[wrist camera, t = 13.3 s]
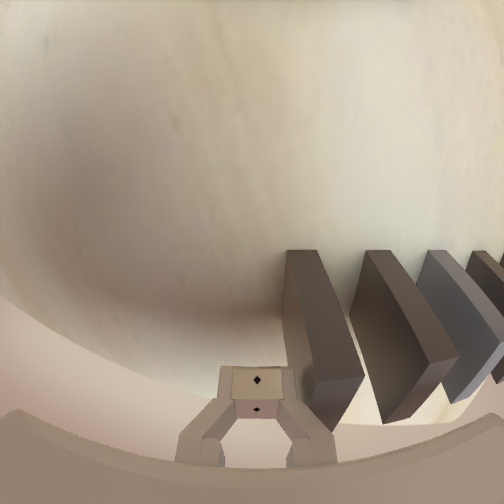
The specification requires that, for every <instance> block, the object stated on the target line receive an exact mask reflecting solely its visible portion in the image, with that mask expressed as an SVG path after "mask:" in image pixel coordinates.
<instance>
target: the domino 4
mask: <svg viewBox="0 0 504 504" xmlns="http://www.w3.org/2000/svg"><path fill="white" fill-rule="evenodd" d="M465 271H466V272H467V274H468V275H469V276H470V277H471V278H472V279H473V280H474V281H475V283H476V284H477V285H478V286H479V287H480V288H481V290H482V291H483V292H484V293H485V294H486V296H487V297H488V298H489V299H490V301H491V302H492V303H493V304H494V306H495V307H496V308H497V310H498V311H499V312H500V313H501V315H502V316H503V317H504V268H503V267H502V266H501V265H500V264H499V263H498V262H496V261H495V260H494V259H493V258H492V257H491V256H490V255H489V254H488V253H487V252H486V251H473V252H472V255H471V257H470V260H469V263H468V265H467V268H466V270H465ZM490 373H491V375H492V377H493V379H494V381H495V382H496V384H498V383H500V382H502V381H504V356H503V357H502V358H501V360H500V361H499V362H498V364H497V365H496V366H495V367H494V369H493V370H492V371H491V372H490Z"/></svg>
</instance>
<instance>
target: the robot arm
mask: <svg viewBox="0 0 504 504" xmlns="http://www.w3.org/2000/svg"><path fill="white" fill-rule="evenodd" d="M237 418H260V419H261V418H262V419H276V420H277V421H278V423H279V424H280V426H281V427H282V428H283V430H284V431H285V433H286V434H287V435H288V437H289V438H290V440H291V441H292V442H293V444H292V446H291V448H290V451H289V453H288V455H287V458H286V465H287V468H267V469H253V468H252V469H250V468H227V467H225V456H224V452H223V449H222V446H221V443H220V441H221V439H222V438H223V437H224V436H225V434H226V433H227V432H228V430H229V429H230V428H231V426H232V425H233V424H234V423H235V421H236V420H237ZM0 504H504V419H502V418H501V417H499V416H498V415H496V414H494V413H489V414H486V415H484V416H483V417H480V418H479V419H476V420H475V421H472V422H470V423H468V424H466V425H464V426H462V427H459V428H457V429H455V430H453V431H450V432H448V433H445V434H443V435H440V436H437V437H435V438H432V439H429V440H427V441H424V442H421V443H418V444H415V445H412V446H408V447H405V448H402V449H398V450H395V451H391V452H387V453H383V454H379V455H375V456H371V457H367V458H361V459H356V460H351V461H345V462H339V463H338V462H337V455H336V448H335V441H334V435H333V434H332V433H331V432H330V431H329V430H328V428H327V427H326V426H325V425H324V424H323V423H322V422H321V421H320V420H319V419H318V418H317V417H316V416H315V414H314V413H313V412H312V411H311V410H310V409H309V408H308V407H307V406H306V404H305V403H304V402H303V401H302V400H301V399H297V393H296V383H295V373H294V368H293V366H284V367H281V366H270V367H240V366H221V369H220V376H219V384H218V393H217V398H213V399H212V400H211V401H210V403H209V404H208V405H207V406H206V407H205V408H204V409H203V410H202V411H201V412H200V413H199V414H198V415H197V416H196V417H195V418H194V419H193V420H192V421H191V422H190V423H189V424H188V426H187V427H186V428H185V429H184V430H183V431H182V432H181V433H180V434H179V439H178V444H177V451H176V456H175V462H174V461H168V460H163V459H158V458H153V457H148V456H144V455H140V454H136V453H132V452H128V451H124V450H121V449H117V448H114V447H110V446H107V445H104V444H101V443H98V442H95V441H92V440H89V439H86V438H83V437H81V436H78V435H76V434H73V433H71V432H68V431H66V430H63V429H61V428H59V427H57V426H54V425H52V424H50V423H48V422H46V421H43V420H41V419H39V418H37V417H35V416H33V415H32V414H30V413H28V412H26V411H24V410H21V409H16V410H13V411H11V412H10V413H8V414H6V415H4V416H3V417H1V418H0Z"/></svg>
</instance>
